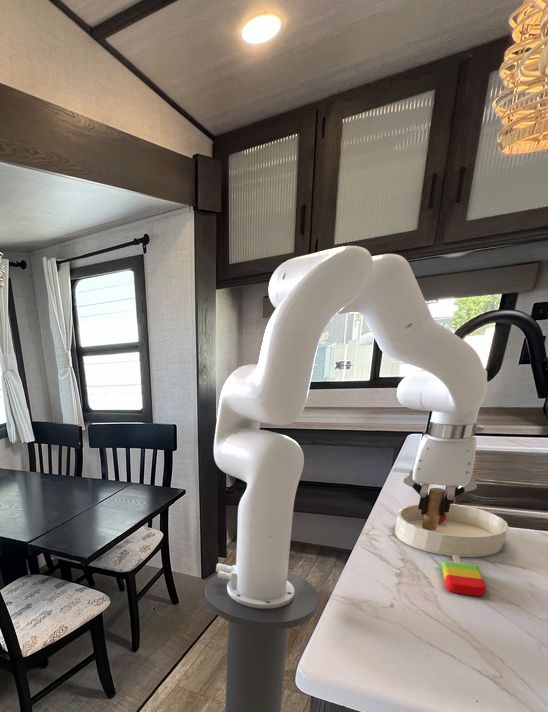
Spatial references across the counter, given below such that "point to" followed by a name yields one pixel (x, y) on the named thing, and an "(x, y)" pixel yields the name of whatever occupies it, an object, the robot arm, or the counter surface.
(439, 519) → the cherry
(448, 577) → the popsicle
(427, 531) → the bowl
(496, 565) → the counter surface
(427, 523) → the brown cylinder
